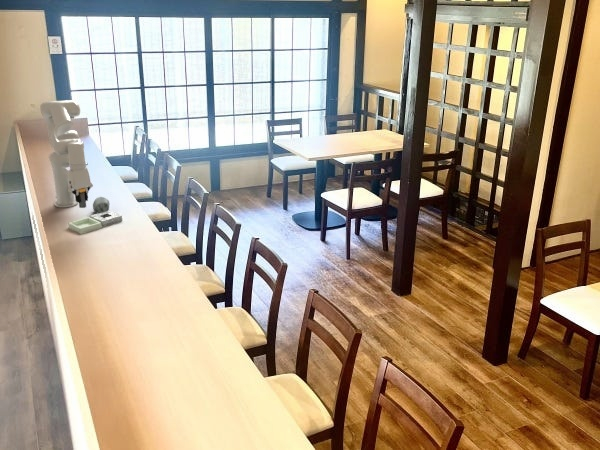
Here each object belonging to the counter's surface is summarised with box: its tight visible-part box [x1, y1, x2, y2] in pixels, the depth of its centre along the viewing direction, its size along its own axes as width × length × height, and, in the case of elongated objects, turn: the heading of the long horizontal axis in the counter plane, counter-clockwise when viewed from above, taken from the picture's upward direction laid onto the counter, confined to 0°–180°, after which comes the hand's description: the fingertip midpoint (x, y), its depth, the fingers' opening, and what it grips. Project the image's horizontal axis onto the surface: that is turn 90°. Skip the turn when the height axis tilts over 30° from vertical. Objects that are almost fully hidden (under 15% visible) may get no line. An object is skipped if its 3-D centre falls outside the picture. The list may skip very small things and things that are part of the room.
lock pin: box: [78, 188, 87, 209], centre depth 288 cm, size 5×5×10 cm
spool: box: [92, 196, 110, 214], centre depth 316 cm, size 14×10×10 cm
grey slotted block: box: [89, 209, 123, 228], centre depth 304 cm, size 12×12×3 cm
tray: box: [67, 216, 103, 235], centre depth 294 cm, size 12×12×3 cm
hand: (82, 200), depth 289 cm, fingers closed on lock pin, 3 cm apart
